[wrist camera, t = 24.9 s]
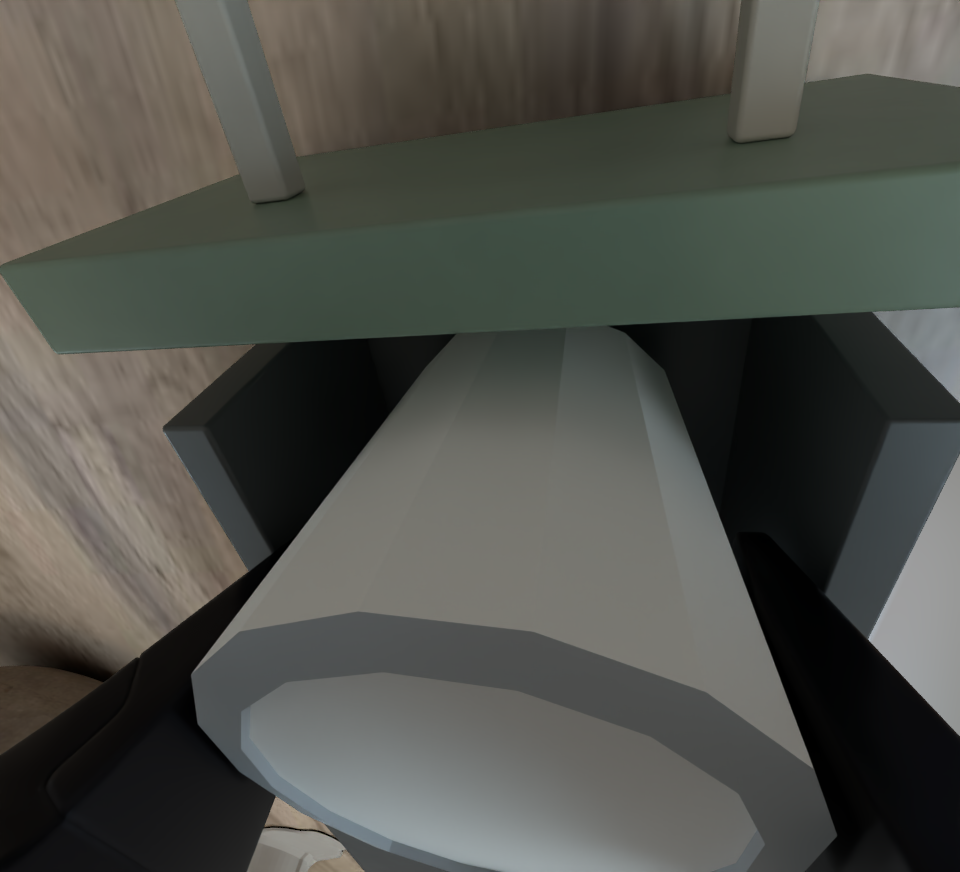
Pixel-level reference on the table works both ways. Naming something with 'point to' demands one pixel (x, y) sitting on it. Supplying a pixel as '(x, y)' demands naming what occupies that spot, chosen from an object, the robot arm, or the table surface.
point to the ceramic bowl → (36, 699)
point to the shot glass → (522, 636)
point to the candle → (292, 850)
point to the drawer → (563, 287)
